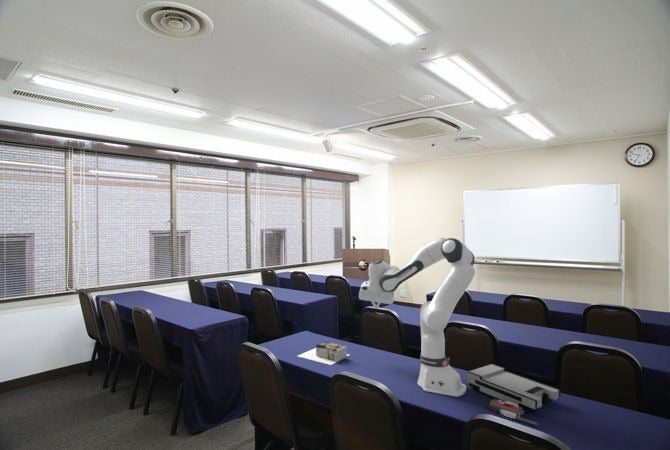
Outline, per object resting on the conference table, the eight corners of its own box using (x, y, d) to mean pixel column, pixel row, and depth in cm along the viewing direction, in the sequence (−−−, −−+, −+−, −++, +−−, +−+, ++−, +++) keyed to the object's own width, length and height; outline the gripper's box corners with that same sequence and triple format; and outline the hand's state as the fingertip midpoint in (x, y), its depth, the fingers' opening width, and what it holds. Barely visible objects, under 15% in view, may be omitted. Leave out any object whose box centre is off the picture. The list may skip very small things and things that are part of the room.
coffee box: (337, 350, 206) (315, 344, 216) (337, 362, 206) (315, 355, 216) (347, 346, 214) (325, 341, 223) (347, 357, 214) (325, 351, 223)
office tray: (535, 418, 148) (535, 398, 148) (466, 389, 175) (467, 372, 175) (560, 405, 160) (560, 386, 160) (492, 380, 186) (493, 363, 186)
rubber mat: (350, 355, 219) (350, 354, 219) (331, 365, 202) (331, 364, 202) (317, 347, 232) (317, 347, 232) (297, 356, 215) (297, 355, 215)
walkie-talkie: (484, 410, 154) (536, 429, 140) (484, 400, 154) (537, 417, 140) (492, 404, 160) (543, 421, 147) (492, 393, 160) (543, 409, 147)
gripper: (395, 286, 211) (394, 307, 215) (361, 281, 218) (361, 302, 222) (392, 291, 205) (392, 313, 210) (357, 286, 212) (358, 307, 217)
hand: (376, 307), depth 216 cm, fingers closed
